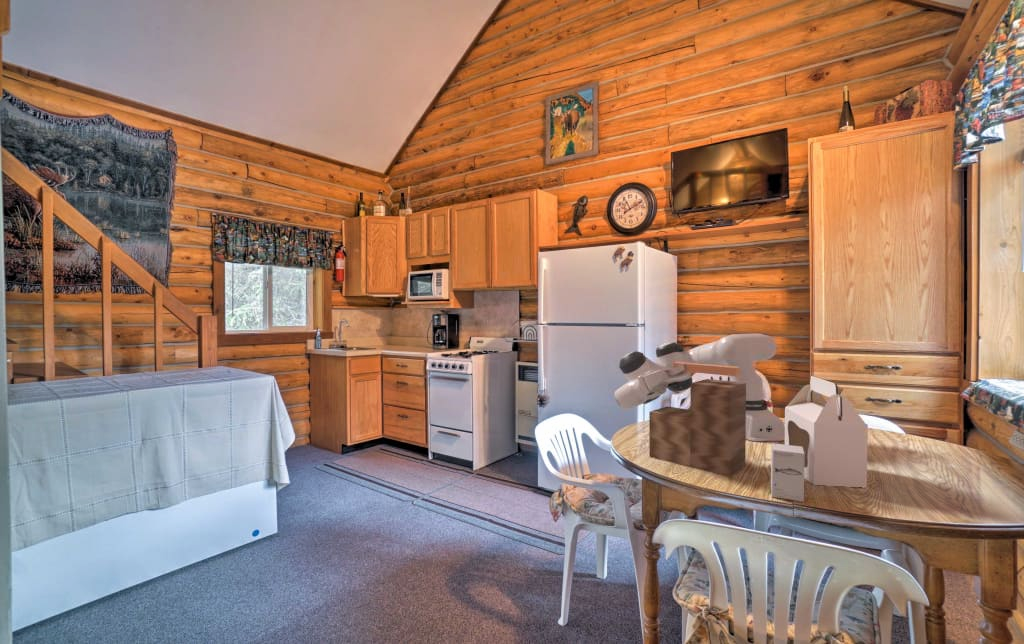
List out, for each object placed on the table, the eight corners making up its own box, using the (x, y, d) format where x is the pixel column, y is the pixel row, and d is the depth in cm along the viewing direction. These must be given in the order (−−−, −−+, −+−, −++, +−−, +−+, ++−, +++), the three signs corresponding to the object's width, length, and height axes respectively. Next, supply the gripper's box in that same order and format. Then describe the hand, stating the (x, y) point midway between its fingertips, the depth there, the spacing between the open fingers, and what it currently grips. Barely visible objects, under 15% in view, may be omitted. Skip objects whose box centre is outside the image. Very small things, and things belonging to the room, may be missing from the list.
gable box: (867, 489, 128) (869, 386, 128) (813, 486, 131) (814, 384, 130) (829, 462, 150) (830, 374, 149) (784, 460, 153) (784, 373, 152)
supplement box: (771, 497, 123) (771, 449, 123) (770, 488, 130) (771, 442, 129) (804, 503, 120) (805, 453, 119) (802, 492, 126) (802, 445, 126)
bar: (740, 375, 143) (740, 366, 143) (736, 376, 141) (736, 368, 141) (678, 369, 158) (678, 361, 157) (672, 370, 155) (673, 362, 155)
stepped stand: (745, 466, 147) (745, 382, 146) (729, 476, 139) (730, 387, 138) (667, 449, 166) (667, 374, 165) (649, 456, 157) (649, 378, 157)
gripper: (673, 387, 168) (706, 371, 159) (642, 395, 154) (677, 378, 145) (664, 371, 170) (697, 354, 161) (634, 377, 156) (668, 359, 147)
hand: (688, 365), depth 153 cm, fingers closed on bar, 3 cm apart
